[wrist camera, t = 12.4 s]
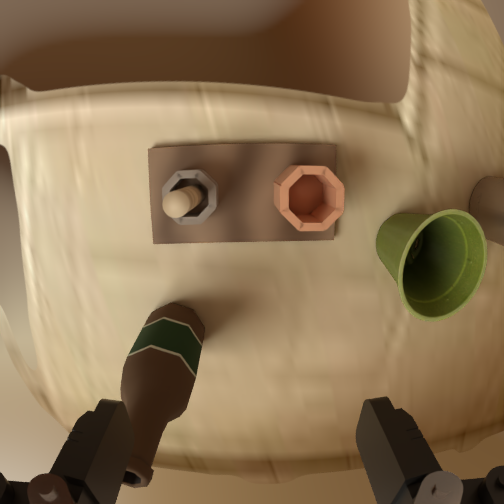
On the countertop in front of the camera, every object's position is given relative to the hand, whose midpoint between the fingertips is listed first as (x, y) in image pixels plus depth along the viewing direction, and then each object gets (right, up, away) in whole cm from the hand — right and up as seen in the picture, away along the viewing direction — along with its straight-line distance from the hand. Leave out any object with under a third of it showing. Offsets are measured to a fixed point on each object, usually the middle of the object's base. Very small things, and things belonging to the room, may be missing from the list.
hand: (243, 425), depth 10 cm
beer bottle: (-10, -4, +32) cm, 33 cm away
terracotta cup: (+6, +12, +26) cm, 29 cm away
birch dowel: (-6, +12, +26) cm, 29 cm away
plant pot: (+19, +7, +29) cm, 36 cm away
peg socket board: (-1, +12, +27) cm, 30 cm away
